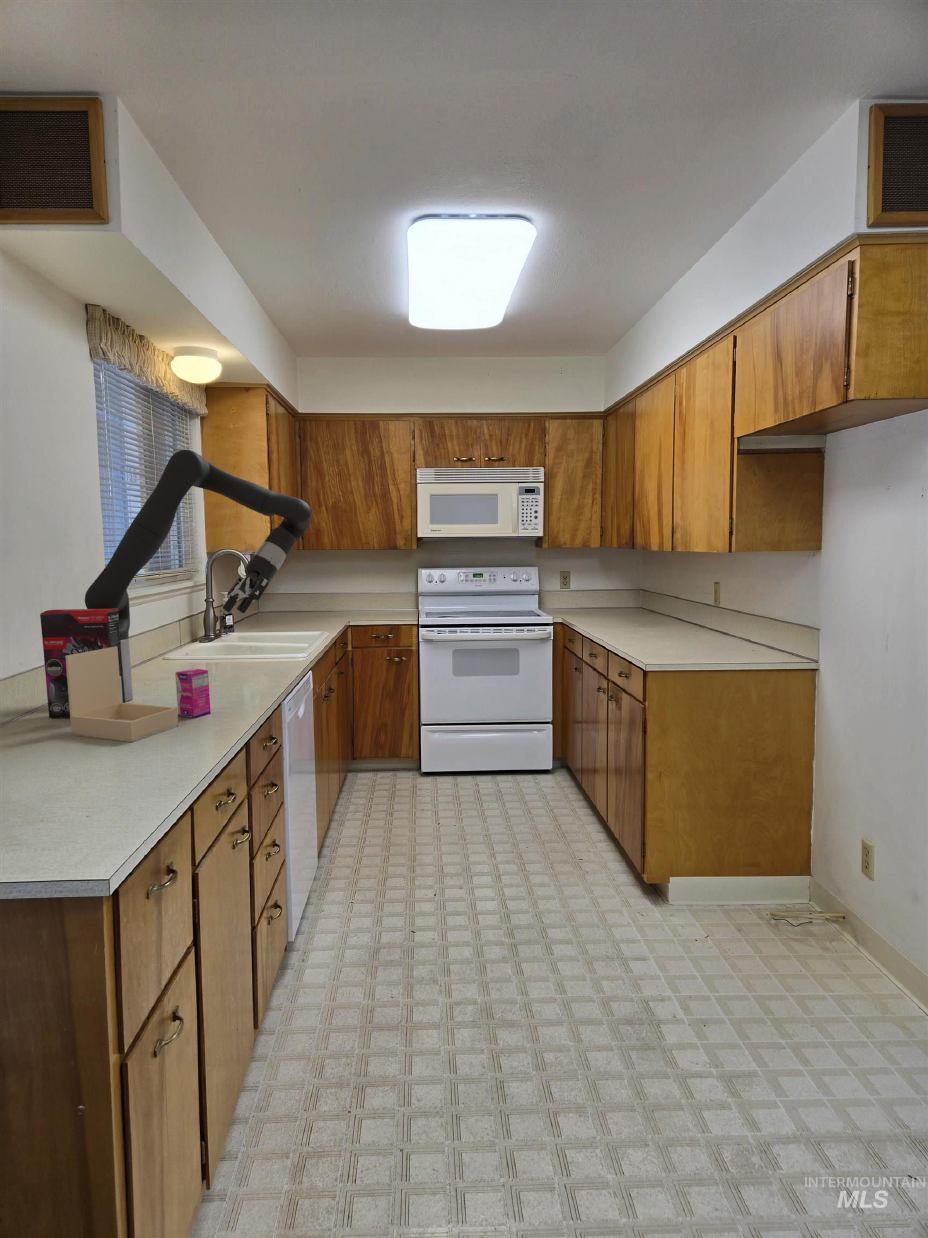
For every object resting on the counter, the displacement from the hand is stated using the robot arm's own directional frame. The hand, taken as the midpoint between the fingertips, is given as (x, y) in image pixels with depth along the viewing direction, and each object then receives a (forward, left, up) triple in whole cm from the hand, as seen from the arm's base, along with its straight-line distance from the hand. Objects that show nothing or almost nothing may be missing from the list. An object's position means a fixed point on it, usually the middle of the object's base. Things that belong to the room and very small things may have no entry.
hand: (232, 611), depth 185 cm
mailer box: (-9, -28, -26) cm, 39 cm away
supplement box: (-4, -11, -26) cm, 28 cm away
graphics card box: (-30, -20, -26) cm, 45 cm away
